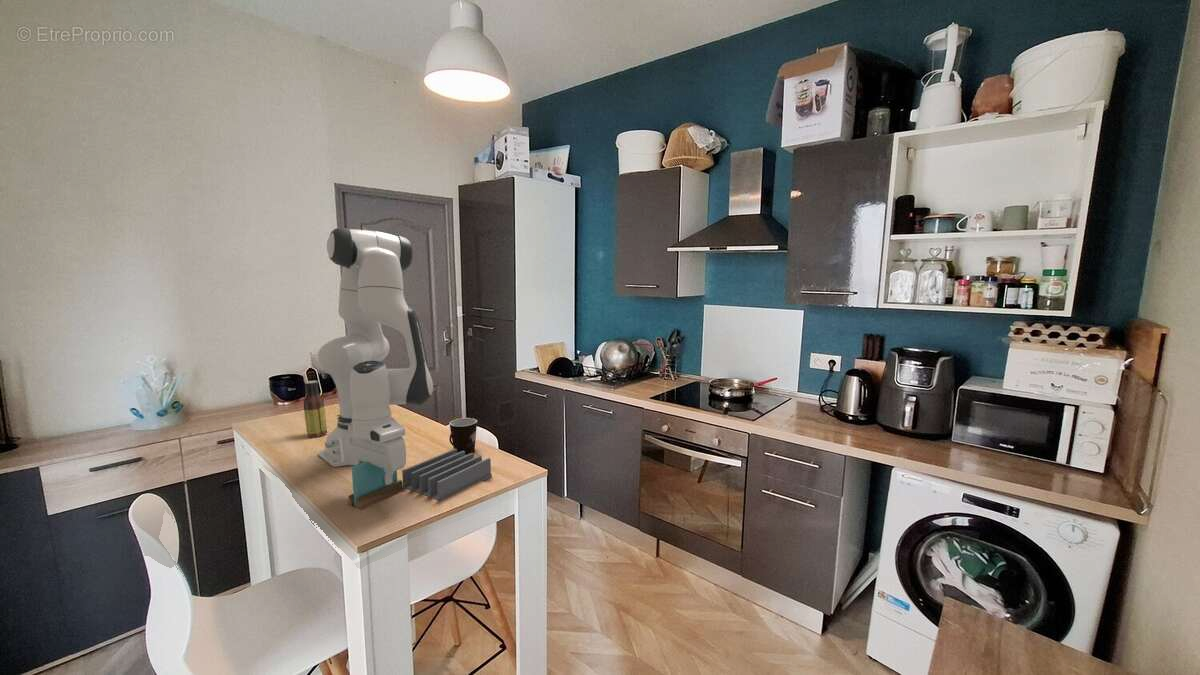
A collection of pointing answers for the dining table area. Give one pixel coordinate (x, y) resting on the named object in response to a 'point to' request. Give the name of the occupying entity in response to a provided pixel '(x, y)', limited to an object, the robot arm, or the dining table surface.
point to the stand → (376, 495)
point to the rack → (446, 474)
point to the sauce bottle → (314, 410)
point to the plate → (368, 479)
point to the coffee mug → (463, 434)
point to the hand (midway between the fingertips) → (376, 479)
